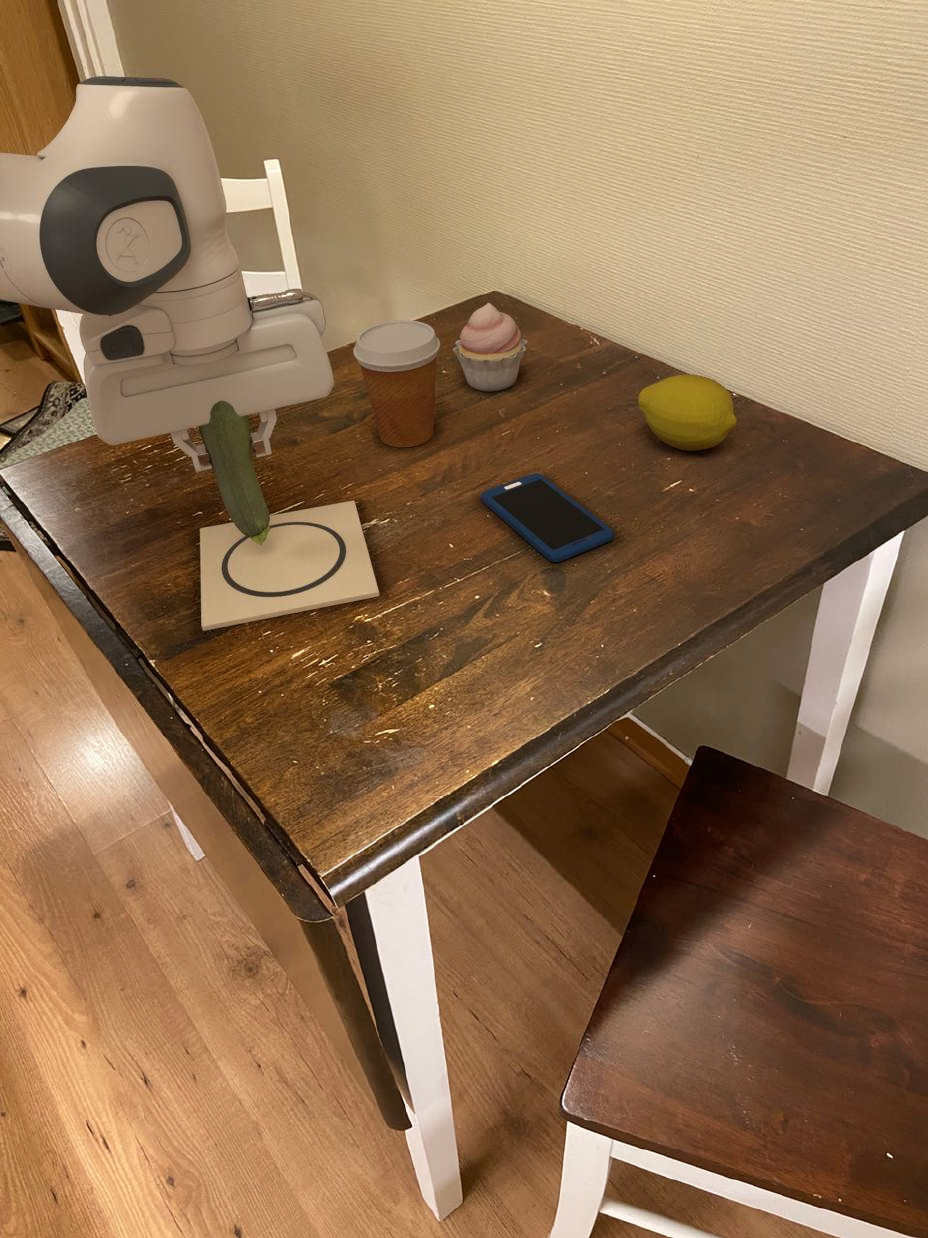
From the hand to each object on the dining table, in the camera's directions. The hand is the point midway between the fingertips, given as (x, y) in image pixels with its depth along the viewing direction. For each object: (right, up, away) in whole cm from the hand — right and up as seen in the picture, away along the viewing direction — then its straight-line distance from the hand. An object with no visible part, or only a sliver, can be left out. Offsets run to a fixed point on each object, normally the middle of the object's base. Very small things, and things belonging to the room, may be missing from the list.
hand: (232, 460), depth 79 cm
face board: (+3, -9, +6) cm, 11 cm away
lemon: (+45, +5, +19) cm, 49 cm away
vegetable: (+1, -7, +6) cm, 9 cm away
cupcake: (+24, +16, +34) cm, 45 cm away
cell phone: (+29, -4, +9) cm, 31 cm away
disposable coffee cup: (+14, +7, +25) cm, 29 cm away
